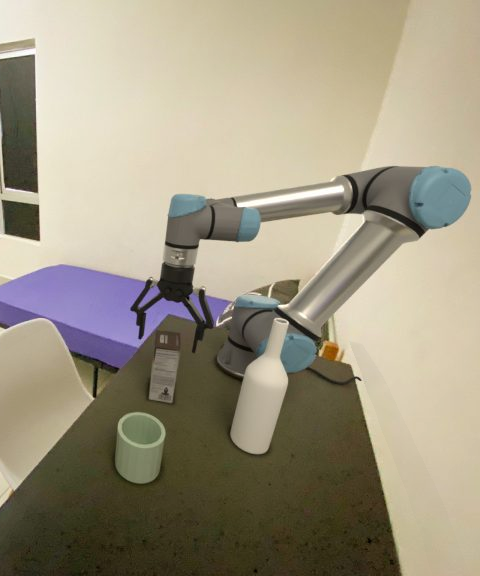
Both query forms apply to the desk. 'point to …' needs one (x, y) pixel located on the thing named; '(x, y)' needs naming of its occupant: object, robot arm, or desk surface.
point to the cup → (139, 447)
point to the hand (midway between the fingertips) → (166, 343)
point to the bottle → (261, 395)
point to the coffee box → (164, 366)
